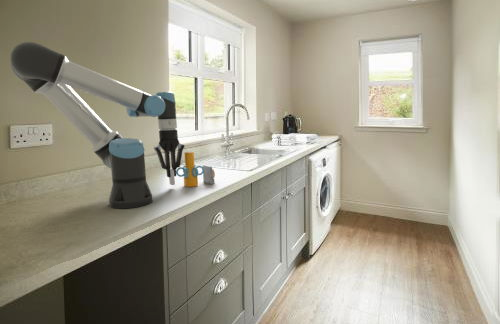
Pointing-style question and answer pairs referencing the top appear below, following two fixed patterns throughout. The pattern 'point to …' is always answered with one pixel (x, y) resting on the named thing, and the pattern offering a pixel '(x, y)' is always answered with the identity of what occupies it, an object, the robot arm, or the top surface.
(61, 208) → the top surface
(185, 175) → the orange block with rings
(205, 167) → the grey stone
